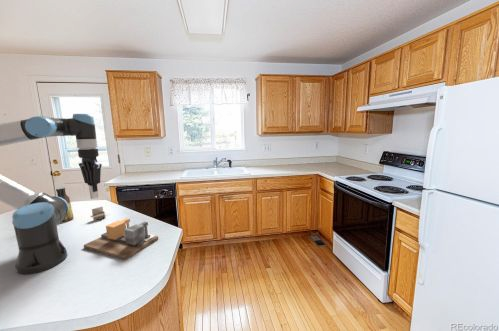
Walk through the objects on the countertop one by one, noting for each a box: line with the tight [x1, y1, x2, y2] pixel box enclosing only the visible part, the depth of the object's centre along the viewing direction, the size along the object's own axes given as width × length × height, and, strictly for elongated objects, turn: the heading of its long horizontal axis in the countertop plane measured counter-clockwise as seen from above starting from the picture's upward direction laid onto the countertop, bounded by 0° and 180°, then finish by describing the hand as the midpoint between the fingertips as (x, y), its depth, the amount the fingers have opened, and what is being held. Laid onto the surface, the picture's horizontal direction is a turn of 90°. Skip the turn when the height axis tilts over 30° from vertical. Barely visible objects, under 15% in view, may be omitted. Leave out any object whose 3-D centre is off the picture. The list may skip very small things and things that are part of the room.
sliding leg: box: [105, 217, 131, 240], centre depth 104 cm, size 10×5×6 cm, turn 158°
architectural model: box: [90, 206, 106, 221], centre depth 131 cm, size 3×7×7 cm, turn 140°
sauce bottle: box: [55, 186, 74, 223], centre depth 130 cm, size 6×6×20 cm
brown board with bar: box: [83, 221, 159, 261], centre depth 102 cm, size 18×26×9 cm
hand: (94, 198), depth 105 cm, fingers closed
